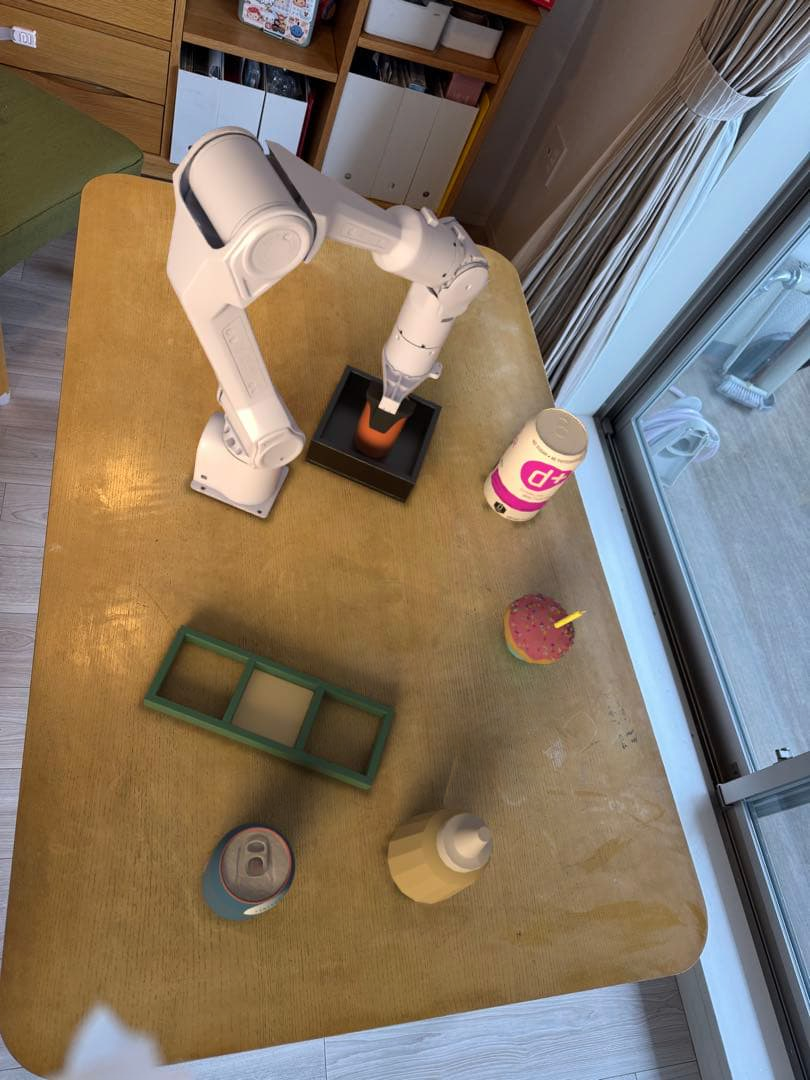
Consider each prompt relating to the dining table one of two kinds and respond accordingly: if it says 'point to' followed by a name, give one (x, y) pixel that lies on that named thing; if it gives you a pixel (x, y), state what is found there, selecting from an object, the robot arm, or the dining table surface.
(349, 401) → the open box
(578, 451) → the supplement can
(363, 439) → the tumbler
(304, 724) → the rack
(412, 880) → the squeeze bottle
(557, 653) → the cupcake
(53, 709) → the dining table surface
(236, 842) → the soda can
